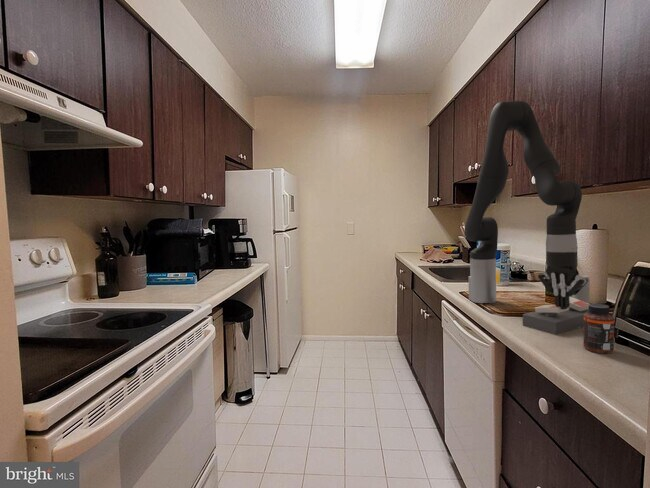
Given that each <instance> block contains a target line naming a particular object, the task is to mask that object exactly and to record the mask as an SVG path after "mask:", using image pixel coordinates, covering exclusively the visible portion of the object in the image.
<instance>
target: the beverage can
mask: <svg viewBox="0 0 650 488" xmlns="http://www.w3.org/2000/svg"><path fill="white" fill-rule="evenodd" d="M579 275H580V276H581V277H582V278H584V279H587V280H588V282H587V283H586V284H585V286H584V287H583V288H582V289H581V290H580V291H579V292H578V293H577V294H576V295H572V296H571V297H573V298H575V299H578V300H580V301H583V302H585V303H588V304H590V297H591V296H590V285H591V283H590V281H591V280H590V276H589V275H587V274H586V275H585V274H579ZM575 280H576V279H575ZM575 280H574V281H573V282H572V287H573V286H574V285H575V284H576V283H575Z"/></svg>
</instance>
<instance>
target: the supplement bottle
mask: <svg viewBox="0 0 650 488" xmlns="http://www.w3.org/2000/svg"><path fill="white" fill-rule="evenodd" d="M588 309H589V312H586V313H585V314H584V326H583V347H584V349H586V350H588V351H589V352H593V353H596V354H605V355H607V354H611V353H613V352H614V349H615V317H614V316H613V315H612V314H611V313H610V306H609V305H606V304H604V303H603V304H601V303H589V308H588Z"/></svg>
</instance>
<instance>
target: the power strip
mask: <svg viewBox="0 0 650 488" xmlns="http://www.w3.org/2000/svg"><path fill="white" fill-rule="evenodd" d="M586 312H589V309H587V310H583V311H578V310H576V309H573V308H571V307H569V310H567V311H563V312H559V313H550V312H535V310H534V311H531V312H530V311H529V312H526V313H523V314H522V326H524V327H528V328H531V329H534V330H535V329H536V330H537V331H541V332H545V333H548V334H551V335H555V336H556V335H560V334H563V333H567V332H569V331H572V330H573V331H574V330H576V329H579V328H584V314H585V313H586Z"/></svg>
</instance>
